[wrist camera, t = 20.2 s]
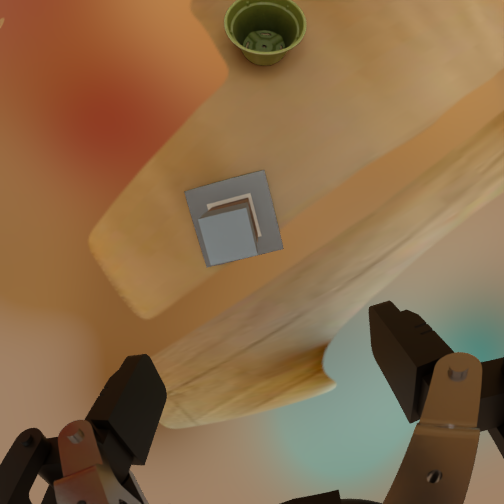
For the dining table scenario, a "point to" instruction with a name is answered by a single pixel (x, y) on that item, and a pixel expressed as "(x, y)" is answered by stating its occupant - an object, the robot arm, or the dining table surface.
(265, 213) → the plate
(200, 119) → the dining table surface
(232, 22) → the plant pot
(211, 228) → the blue block
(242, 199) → the walnut block
